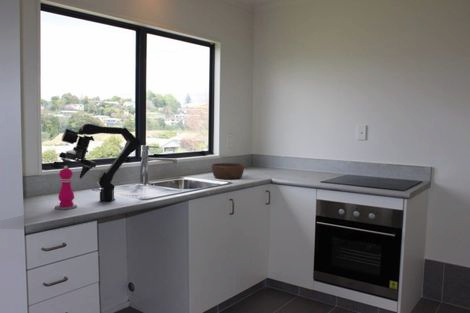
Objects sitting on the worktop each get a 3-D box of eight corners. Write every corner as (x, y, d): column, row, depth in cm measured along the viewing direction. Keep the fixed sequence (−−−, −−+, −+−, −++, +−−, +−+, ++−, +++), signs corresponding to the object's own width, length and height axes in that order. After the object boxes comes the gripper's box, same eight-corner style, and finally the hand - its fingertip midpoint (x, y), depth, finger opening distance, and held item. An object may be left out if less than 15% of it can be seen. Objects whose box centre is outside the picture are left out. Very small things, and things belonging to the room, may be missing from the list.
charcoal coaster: (80, 205, 207) (80, 204, 207) (71, 210, 197) (71, 208, 197) (61, 205, 207) (61, 203, 207) (50, 209, 197) (50, 207, 197)
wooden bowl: (206, 176, 322) (206, 163, 321) (235, 175, 332) (235, 162, 331) (219, 181, 299) (219, 167, 298) (249, 179, 310) (249, 165, 309)
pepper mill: (67, 203, 207) (66, 164, 205) (77, 205, 204) (76, 165, 202) (55, 206, 201) (54, 165, 199) (65, 207, 197) (64, 166, 196)
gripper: (57, 139, 206) (47, 169, 205) (88, 149, 202) (79, 179, 201) (70, 143, 217) (61, 171, 216) (100, 152, 213) (91, 181, 212)
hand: (72, 175), depth 211 cm, fingers open, 9 cm apart
